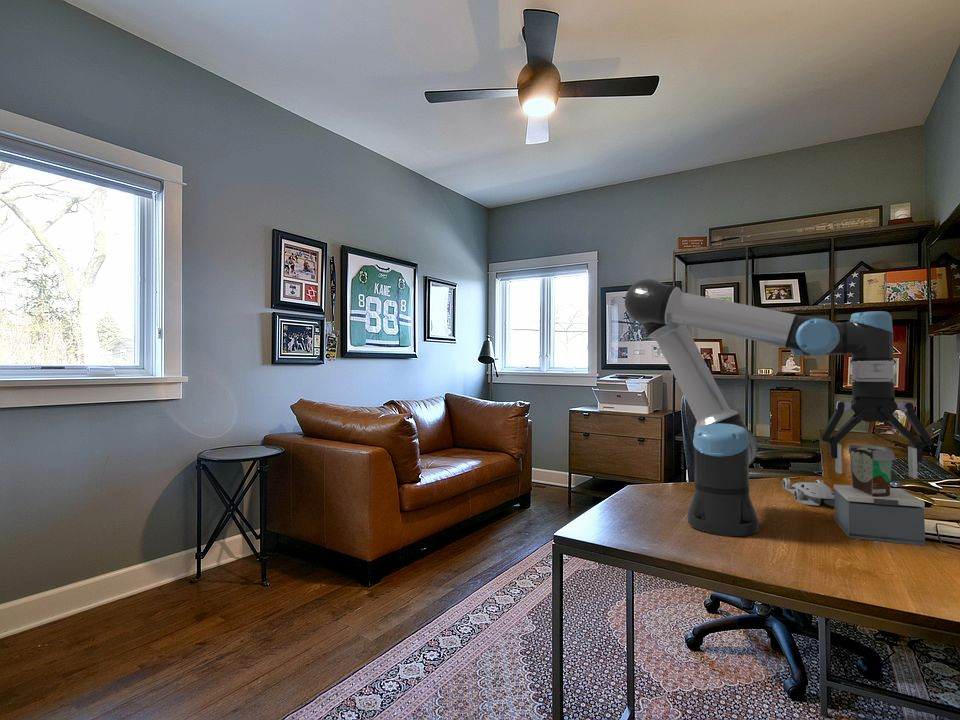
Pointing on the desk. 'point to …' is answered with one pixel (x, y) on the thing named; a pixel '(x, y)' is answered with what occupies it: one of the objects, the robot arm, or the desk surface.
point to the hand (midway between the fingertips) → (875, 475)
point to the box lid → (894, 498)
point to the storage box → (880, 521)
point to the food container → (871, 469)
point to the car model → (810, 493)
